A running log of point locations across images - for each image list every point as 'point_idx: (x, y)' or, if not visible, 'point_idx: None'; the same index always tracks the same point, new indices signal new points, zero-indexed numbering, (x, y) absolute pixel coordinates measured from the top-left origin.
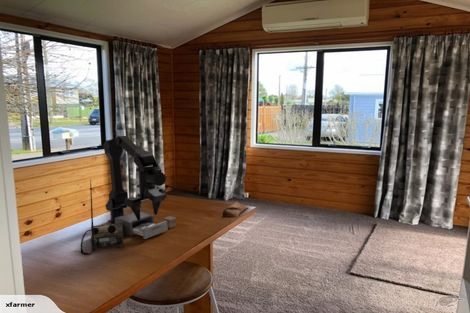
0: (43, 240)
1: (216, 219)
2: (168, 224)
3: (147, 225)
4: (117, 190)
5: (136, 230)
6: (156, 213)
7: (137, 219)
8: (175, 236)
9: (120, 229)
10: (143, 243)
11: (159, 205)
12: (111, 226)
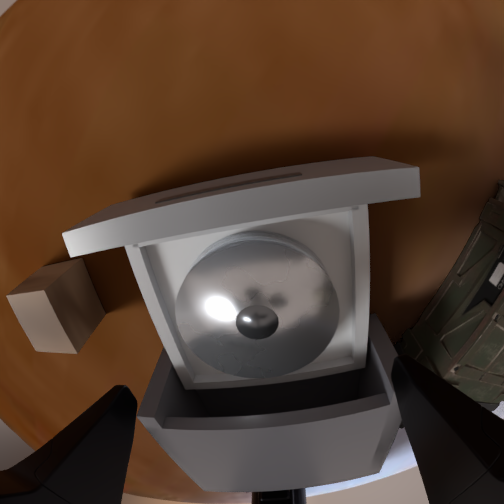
0: (501, 413)
1: None
2: (72, 282)
3: (254, 328)
4: None
5: (362, 317)
6: (114, 394)
7: (313, 422)
8: (120, 73)
9: (499, 321)
10: (398, 123)
11: (33, 454)
12: None
